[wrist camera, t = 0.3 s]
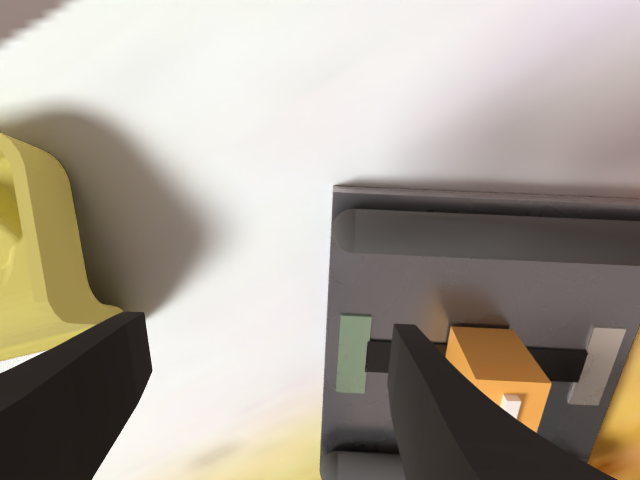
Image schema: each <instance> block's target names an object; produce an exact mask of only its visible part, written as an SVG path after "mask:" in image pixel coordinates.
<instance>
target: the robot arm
mask: <svg viewBox="0 0 640 480" xmlns="http://www.w3.org/2000/svg"><path fill="white" fill-rule="evenodd" d="M151 373H152V364H151V357H150V350H149V343H148V336H147V329H146V322H145V315H144V312H121V313H119V314H116V315H114V316H112V317H110V318H108V319H106V320H104V321H102V322H100V323H99V324H97V325H95V326H93V327H91V328H89V329H87V330H85V331H84V332H82V333H80V334H78V335H76V336H74V337H72V338H71V339H69V340H67V341H65V342H63V343H61V344H59V345H57V346H56V347H54V348H52V349H50V350H48V351H46V352H44V353H42V354H40V355H38V356H36V357H34V358H32V359H30V360H27V361H25V362H23V363H21V364H19V365H17V366H15V367H13V368H11V369H9V370H7V371H5V372H2V373H0V480H92V478H93V477H94V475H95V473H96V472H97V470H98V468H99V467H100V465H101V463H102V462H103V460H104V459H105V457H106V455H107V454H108V452H109V450H110V449H111V447H112V446H113V444H114V442H115V441H116V439H117V437H118V436H119V434H120V433H121V431H122V429H123V428H124V426H125V424H126V423H127V421H128V419H129V418H130V416H131V414H132V413H133V411H134V409H135V408H136V406H137V404H138V402H139V400H140V398H141V396H142V394H143V392H144V389H145V387H146V385H147V382H148V380H149V378H150V375H151ZM387 384H388V394H389V403H390V412H391V418H392V422H393V427H394V431H395V435H396V440H397V444H398V448H399V452H400V457H401V461H402V465H403V469H404V474H405V478H406V480H617V479H615V478H613V477H611V476H609V475H607V474H605V473H603V472H601V471H600V470H598V469H596V468H594V467H592V466H591V465H589V464H587V463H585V462H583V461H582V460H580V459H578V458H576V457H574V456H573V455H571V454H569V453H568V452H566V451H564V450H563V449H561V448H559V447H558V446H556V445H555V444H553V443H551V442H550V441H548V440H547V439H545V438H544V437H542V436H541V435H539V434H538V433H536V432H535V431H533V430H532V429H530V428H528V427H527V426H526V425H524V424H523V423H521V422H520V421H519V420H517V419H516V418H514V417H513V416H512V415H510V414H509V413H508V412H506V411H505V410H504V409H503V408H501V407H500V406H499V405H497V404H496V403H495V402H493V401H492V400H491V399H490V398H489V397H487V396H486V395H485V394H484V393H483V392H481V391H480V390H479V389H478V388H477V387H476V386H475V385H474V384H473V383H471V382H470V381H469V380H468V379H467V378H466V377H465V376H464V375H463V374H462V373H461V372H460V371H459V370H457V369H456V368H455V367H454V366H453V365H452V364H451V363H450V362H449V360H448V359H447V358H446V357H445V356H444V355H443V354H442V353H441V352H440V351H439V350H438V349H437V348H436V347H435V346H434V345H433V343H432V342H431V341H430V340H429V339H428V338H427V337H426V336H425V335H424V333H423V332H422V331H421V330H420V329H419V328H418V327H417V326H416V325H415V324H394V326H393V335H392V344H391V352H390V361H389V370H388V379H387Z"/></svg>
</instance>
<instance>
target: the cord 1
mask: <svg viewBox="0 0 640 480" xmlns="http://www.w3.org/2000/svg"><path fill="white" fill-rule="evenodd" d="M320 475H321V478H322V480H406V478H405V474H404V469H403V465H402V461H401V457H400V454H386V453H367V452H349V451H333V452H330V453H328V454H327V455H326V456H325V457H324V458H323V460H322V462H321V465H320Z"/></svg>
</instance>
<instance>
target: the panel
mask: <svg viewBox="0 0 640 480" xmlns="http://www.w3.org/2000/svg"><path fill="white" fill-rule="evenodd" d="M349 209H370V210H393V211H416V212H439V213H462V214H485V215H508V216H531V217H554V218H577V219H600V220H623V221H640V199H633V198H610V197H586V196H563V195H539V194H516V193H492V192H469V191H445V190H422V189H398V188H375V187H351V186H333V202H332V222H331V243H330V264H329V284H328V305H327V326H326V346H325V367H324V388H323V408H322V429H321V450H320V465H321V462H322V460H323V458H324V457H325V456H326V455H327V454H328V453H330V452H333V451H349V452H367V453H386V454H400V452H399V448H398V444H397V440H396V435H395V431H394V427H393V422H392V418H391V412H390V403H389V394H388V384H387V379H388V370H389V361H390V352H391V344H392V335H393V326H394V324H415V325H416V326H417V327H418V328H419V329H420V330H421V331H422V332H423V333H424V335H425V336H426V337H427V338H428V339H429V340H430V341H431V342H432V343H433V345H434V346H435V347H436V348H437V349H438V350H439V351H440V352H441V353H442V354H443V355H444V356H446V351H447V345H448V339H449V334H450V328H451V326H453V327H473V328H494V329H513V330H514V331H515V333H516V334H517V335H518V337H519V338H520V340H521V341H522V342H523V344H524V345H525V347H526V348H527V349H528V351H529V352H530V354H531V355H532V356H533V358H534V359H535V361H536V362H537V363H538V365H539V366H540V368H541V369H542V370H543V372H544V373H545V375H546V376H547V377H548V379H549V380H550V382H551V383H552V384H551V387H550V391H549V394H548V397H547V400H546V404H545V407H544V410H543V413H542V417H541V420H540V423H539V427H538V430H537V433H538V434H539V435H541V436H542V437H544V438H545V439H547V440H548V441H550V442H551V443H553V444H555V445H556V446H558V447H559V448H561V449H563V450H564V451H566V452H568V453H569V454H571V455H573V456H574V457H576V458H578V459H580V460H582V461H583V462H585V463H587V462H588V459H589V457H590V454H591V451H592V449H593V446H594V443H595V441H596V438H597V436H598V433H599V430H600V428H601V425H602V422H603V420H604V417H605V414H606V412H607V409H608V407H609V404H610V401H611V399H612V396H613V393H614V391H615V388H616V386H617V383H618V380H619V378H620V375H621V372H622V370H623V367H624V365H625V362H626V359H627V357H628V354H629V351H630V349H631V346H632V344H633V341H634V338H635V336H636V333H637V330H638V328H639V325H640V266H627V265H605V264H583V263H561V262H539V261H517V260H495V259H473V258H451V257H429V256H407V255H385V254H363V253H349V252H346V251H343V250H342V249H340V248H339V247H338V246H337V245H336V243H335V242H334V240H333V237H332V225H333V222H334V220H335V218H336V217H337V216H338V215H339V214H340V213H342V212H343V211H346V210H349Z"/></svg>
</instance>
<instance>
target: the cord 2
mask: <svg viewBox="0 0 640 480" xmlns="http://www.w3.org/2000/svg"><path fill="white" fill-rule="evenodd" d="M332 237H333V240H334V242H335V243H336V245H337V246H338V247H339V248H340V249H342V250H343V251H346V252H349V253H363V254H385V255H407V256H429V257H451V258H473V259H495V260H517V261H539V262H561V263H583V264H605V265H627V266H640V221H623V220H600V219H577V218H554V217H531V216H508V215H485V214H462V213H439V212H416V211H393V210H370V209H349V210H346V211H343V212H342V213H340V214H339V215H338V216H337V217H336V218H335V220H334V222H333V225H332Z"/></svg>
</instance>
